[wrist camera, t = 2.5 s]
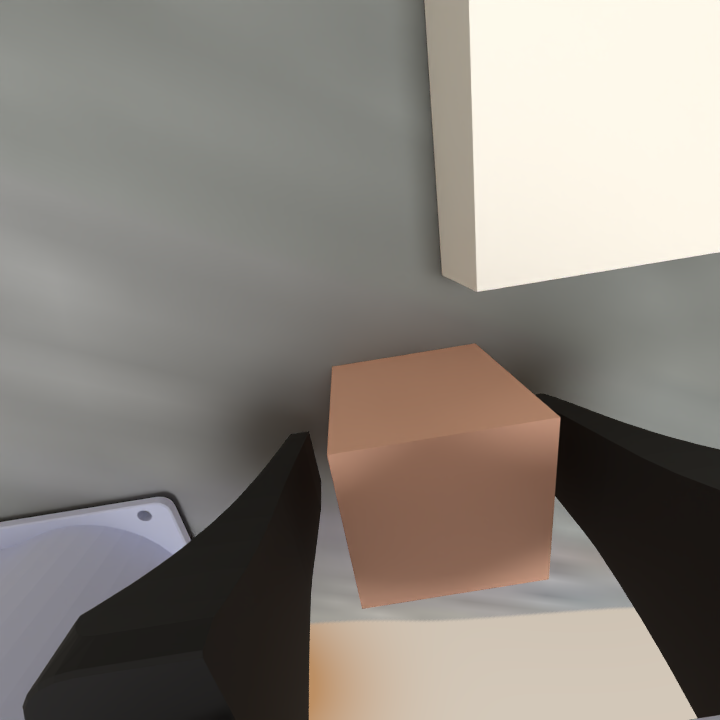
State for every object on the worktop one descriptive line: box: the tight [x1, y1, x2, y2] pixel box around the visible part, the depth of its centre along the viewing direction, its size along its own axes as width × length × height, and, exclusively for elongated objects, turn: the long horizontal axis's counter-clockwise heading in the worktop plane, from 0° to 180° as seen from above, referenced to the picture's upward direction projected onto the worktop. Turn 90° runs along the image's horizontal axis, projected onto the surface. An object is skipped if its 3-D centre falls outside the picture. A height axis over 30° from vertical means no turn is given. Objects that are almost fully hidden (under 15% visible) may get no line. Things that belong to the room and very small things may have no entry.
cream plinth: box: [424, 0, 720, 292], centre depth 8 cm, size 7×7×3 cm
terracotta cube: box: [327, 344, 560, 609], centre depth 10 cm, size 5×5×5 cm
